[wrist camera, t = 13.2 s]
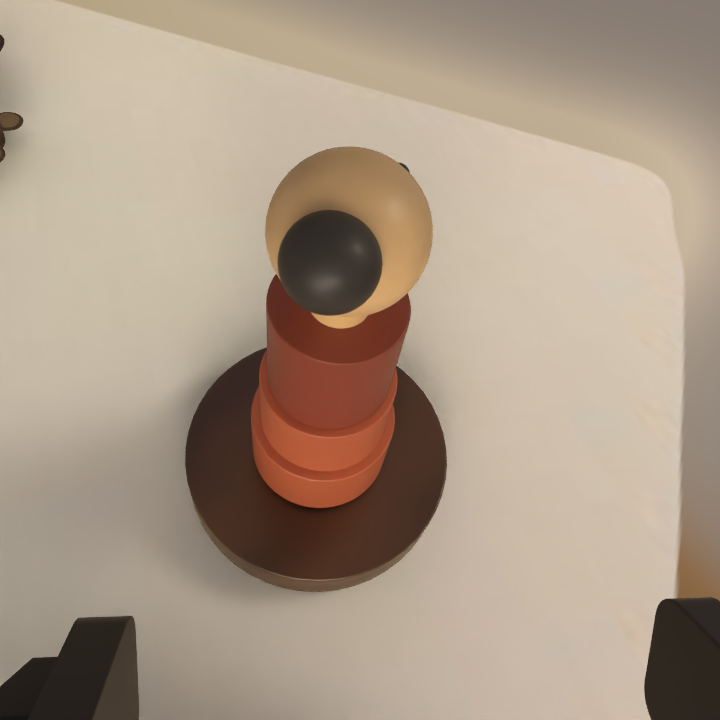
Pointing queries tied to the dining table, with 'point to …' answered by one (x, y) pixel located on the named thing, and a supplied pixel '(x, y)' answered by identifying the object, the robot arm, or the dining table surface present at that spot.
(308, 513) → the doll stand
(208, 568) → the dining table surface
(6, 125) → the bear figurine
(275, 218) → the doll
